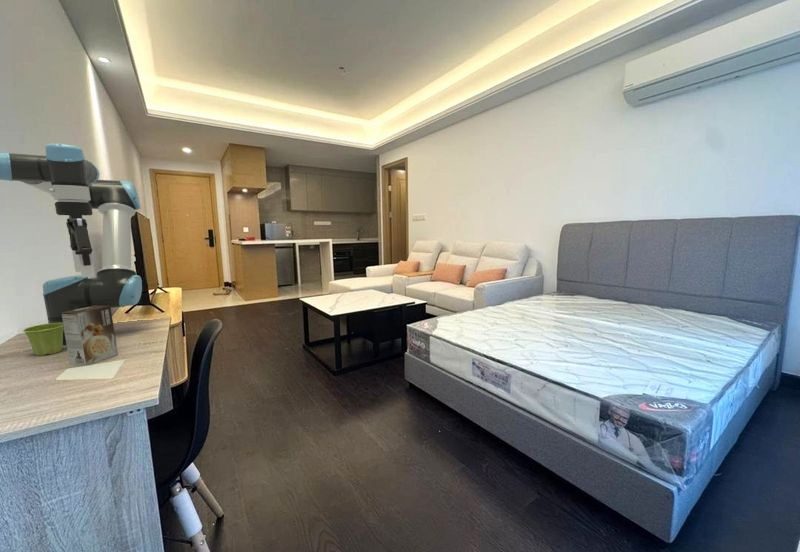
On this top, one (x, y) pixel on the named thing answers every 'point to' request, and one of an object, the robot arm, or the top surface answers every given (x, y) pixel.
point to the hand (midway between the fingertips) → (85, 274)
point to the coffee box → (89, 334)
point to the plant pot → (46, 338)
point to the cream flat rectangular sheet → (92, 371)
